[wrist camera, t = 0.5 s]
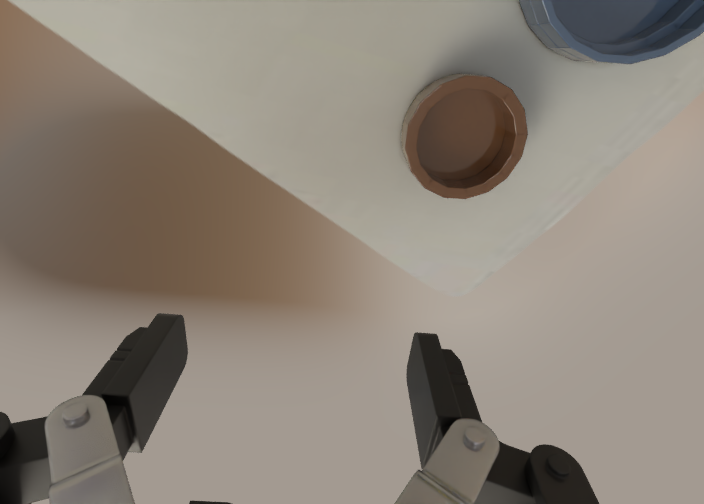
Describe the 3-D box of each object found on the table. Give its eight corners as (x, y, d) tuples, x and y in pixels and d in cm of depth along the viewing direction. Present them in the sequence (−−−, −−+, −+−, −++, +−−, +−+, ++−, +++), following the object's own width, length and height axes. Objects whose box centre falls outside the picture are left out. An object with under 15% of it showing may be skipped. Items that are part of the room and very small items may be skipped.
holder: (409, 69, 35) (414, 71, 32) (525, 78, 36) (541, 81, 33) (395, 183, 40) (398, 194, 37) (497, 190, 40) (509, 202, 37)
